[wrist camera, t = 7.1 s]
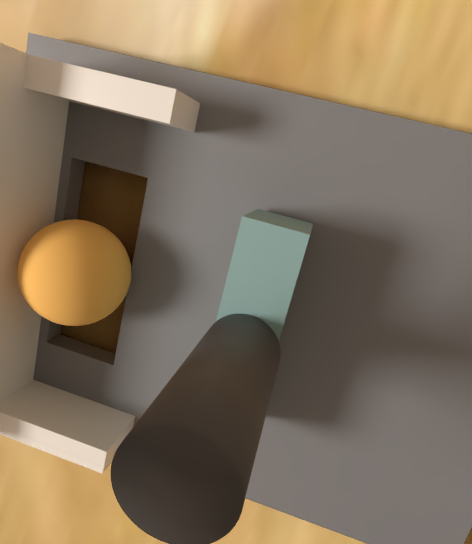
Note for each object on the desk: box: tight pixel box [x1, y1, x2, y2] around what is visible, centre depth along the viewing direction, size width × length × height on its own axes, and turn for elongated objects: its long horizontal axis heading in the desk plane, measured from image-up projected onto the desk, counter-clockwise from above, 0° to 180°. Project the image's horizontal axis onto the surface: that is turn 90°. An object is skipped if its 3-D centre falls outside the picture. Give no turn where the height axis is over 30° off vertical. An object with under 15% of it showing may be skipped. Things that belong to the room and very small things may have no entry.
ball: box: [17, 219, 131, 326], centre depth 16 cm, size 4×4×4 cm
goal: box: [0, 43, 200, 474], centre depth 15 cm, size 6×14×4 cm, turn 166°
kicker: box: [111, 209, 313, 544], centre depth 12 cm, size 2×8×9 cm, turn 166°
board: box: [26, 33, 472, 544], centre depth 17 cm, size 21×16×1 cm
